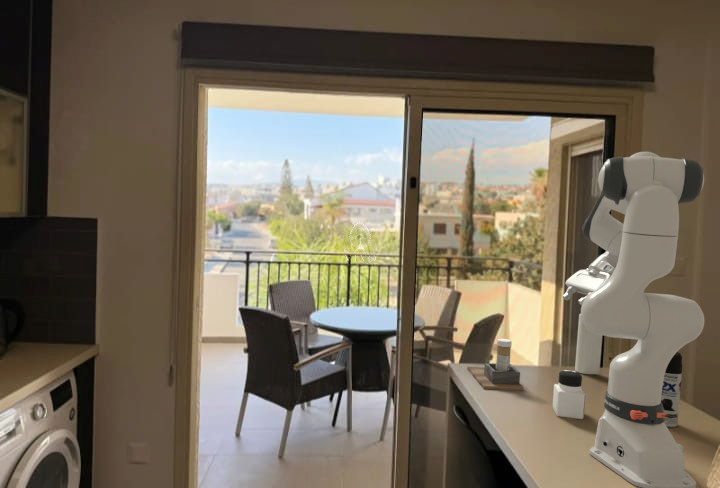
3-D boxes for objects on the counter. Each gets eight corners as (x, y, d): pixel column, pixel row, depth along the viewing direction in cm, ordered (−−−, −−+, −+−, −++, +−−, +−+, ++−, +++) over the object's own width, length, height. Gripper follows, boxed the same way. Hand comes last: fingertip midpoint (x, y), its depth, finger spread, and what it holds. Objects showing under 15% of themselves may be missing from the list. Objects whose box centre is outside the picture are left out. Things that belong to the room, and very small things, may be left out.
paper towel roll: (571, 370, 186) (575, 313, 185) (582, 368, 189) (587, 312, 187) (587, 376, 179) (592, 317, 178) (599, 374, 182) (604, 316, 181)
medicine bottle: (583, 419, 140) (587, 377, 139) (556, 416, 141) (559, 374, 140) (578, 410, 147) (581, 369, 146) (552, 407, 148) (555, 367, 147)
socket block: (523, 390, 161) (524, 374, 161) (483, 388, 161) (484, 373, 160) (502, 370, 181) (503, 356, 181) (467, 369, 181) (468, 355, 180)
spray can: (650, 424, 139) (656, 353, 137) (649, 416, 145) (655, 347, 143) (678, 430, 136) (685, 357, 134) (676, 421, 142) (682, 351, 140)
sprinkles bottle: (500, 376, 171) (502, 337, 171) (511, 380, 168) (514, 340, 167) (492, 378, 169) (494, 339, 168) (503, 382, 165) (506, 342, 164)
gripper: (579, 261, 172) (550, 289, 171) (617, 268, 152) (584, 299, 151) (590, 274, 173) (561, 302, 172) (629, 283, 152) (596, 314, 152)
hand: (572, 301), depth 161 cm, fingers open, 8 cm apart
